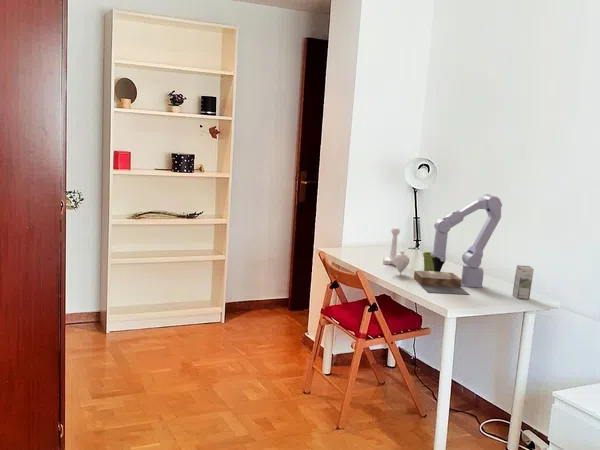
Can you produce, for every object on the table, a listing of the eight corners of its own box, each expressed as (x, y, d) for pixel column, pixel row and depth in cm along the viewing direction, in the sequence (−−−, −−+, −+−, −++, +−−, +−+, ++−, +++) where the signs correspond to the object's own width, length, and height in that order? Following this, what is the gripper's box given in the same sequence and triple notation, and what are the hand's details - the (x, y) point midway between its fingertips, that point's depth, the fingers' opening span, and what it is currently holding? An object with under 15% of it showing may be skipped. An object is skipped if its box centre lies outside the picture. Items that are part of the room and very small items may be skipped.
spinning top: (396, 276, 304) (398, 252, 302) (389, 272, 312) (392, 249, 310) (410, 276, 307) (413, 252, 305) (403, 272, 314) (406, 249, 312)
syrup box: (524, 296, 285) (528, 265, 283) (529, 299, 279) (534, 268, 277) (512, 295, 285) (516, 264, 282) (517, 299, 279) (521, 267, 277)
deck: (451, 280, 304) (452, 272, 304) (460, 287, 292) (461, 279, 291) (413, 278, 303) (414, 270, 302) (420, 285, 290) (421, 277, 289)
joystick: (401, 266, 329) (405, 228, 325) (389, 266, 325) (393, 228, 322) (389, 261, 338) (393, 225, 335) (378, 261, 335) (381, 225, 332)
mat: (460, 287, 292) (460, 287, 292) (469, 294, 280) (469, 294, 280) (420, 285, 290) (420, 285, 290) (428, 292, 278) (428, 292, 278)
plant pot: (427, 272, 318) (429, 256, 316) (417, 268, 326) (419, 252, 325) (442, 272, 321) (444, 256, 320) (432, 268, 330) (434, 252, 328)
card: (446, 276, 295) (447, 272, 295) (450, 279, 290) (450, 275, 289) (427, 275, 295) (428, 270, 294) (431, 278, 289) (431, 274, 289)
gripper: (427, 241, 300) (424, 268, 303) (436, 247, 286) (433, 276, 288) (442, 242, 301) (438, 269, 303) (451, 248, 287) (447, 277, 289)
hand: (437, 273), depth 296 cm, fingers closed
